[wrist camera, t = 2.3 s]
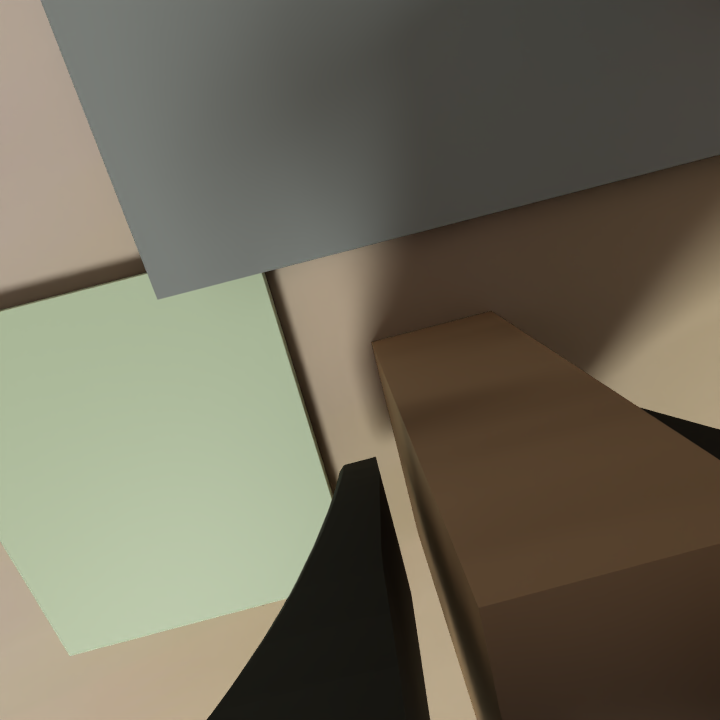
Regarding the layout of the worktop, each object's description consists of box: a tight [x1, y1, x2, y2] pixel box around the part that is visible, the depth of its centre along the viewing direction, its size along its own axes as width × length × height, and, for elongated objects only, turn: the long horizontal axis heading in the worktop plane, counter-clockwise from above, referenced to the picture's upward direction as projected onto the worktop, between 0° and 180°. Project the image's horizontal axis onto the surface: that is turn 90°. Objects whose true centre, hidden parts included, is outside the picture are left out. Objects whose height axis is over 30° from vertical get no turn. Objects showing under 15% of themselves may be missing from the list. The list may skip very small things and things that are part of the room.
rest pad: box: [0, 272, 333, 656], centre depth 11 cm, size 8×7×1 cm
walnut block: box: [371, 311, 720, 720], centre depth 8 cm, size 5×3×7 cm, turn 14°
